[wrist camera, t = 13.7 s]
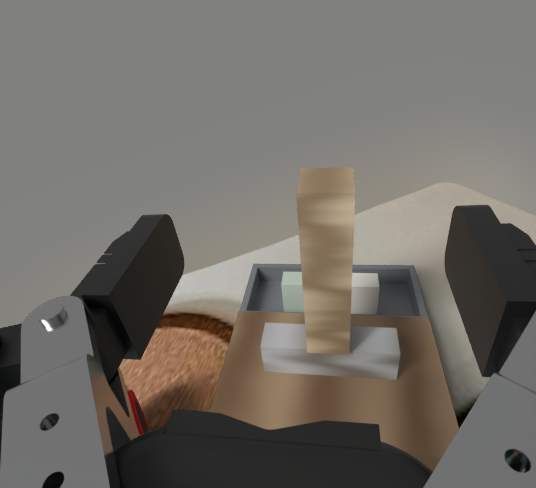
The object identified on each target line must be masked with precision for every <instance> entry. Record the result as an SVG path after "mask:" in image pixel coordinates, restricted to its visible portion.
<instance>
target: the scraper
mask: <svg viewBox="0 0 536 488" xmlns="http://www.w3.org/2000/svg"><path fill="white" fill-rule="evenodd" d="M296 195H297V210H298V225H299V240H300V255H301V270H302V285H303V300H304V315H305V324H288V323H265V326H264V331H263V336H262V341H261V346H260V348H261V354H262V360H263V365H264V371H265V372H281V373H296V374H311V375H326V376H341V377H357V378H372V379H387V380H397V374H398V367H399V361H400V348H399V342H398V335H397V329H396V328H383V327H359V326H350V323H351V294H352V265H353V236H354V207H355V186H354V172H353V167H348V168H319V169H318V168H316V169H301V171H300V177H299V182H298V188H297V193H296Z"/></svg>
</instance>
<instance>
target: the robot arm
mask: <svg viewBox="0 0 536 488" xmlns="http://www.w3.org/2000/svg"><path fill="white" fill-rule="evenodd" d="M104 253H105V254H104V255H102V256H101V258H100V259H99V260H98V261H97V265H94V266H93V268H92V269H91V270H90V271H89V273H88V274H87V275H86V276H85V277H84V279H83V280H82V281H81V283H80V284H79V285H78V287H77V288H76V289H75V290H74V291H73V292H72V294H71V295H70V296H62V297H58V298H55V299H52V300H49V301H47V302H45V303H43V304H41V305H40V306H38V307H37V308H35V309H34V310H33V311H32V312H31V313H30V314H29V315H28V316H27V317H26V318H25V320H24V321H23V323H22V324H18V325H14V326H9V327H4V328H0V488H536V245H535V244H534V242H533V241H532V239H531V238H530V237H529V235H528V234H526V233H525V232H523V231H522V230H520V229H519V228H517V227H515V226H514V225H512V224H511V223H508V224H501V223H500V222H499V220H498V219H497V217H496V216H495V214H494V212H493V211H492V209H491V208H490V206H488V205H469V206H456V207H455V208H454V210H453V213H452V218H451V224H450V229H449V235H448V240H447V246H446V251H445V271H446V276H447V279H448V282H449V284H450V287H451V290H452V293H453V296H454V299H455V301H456V304H457V307H458V310H459V313H460V315H461V318H462V321H463V324H464V327H465V330H466V332H467V335H468V338H469V341H470V344H471V347H472V349H473V352H474V355H475V358H476V361H477V363H478V366H479V369H480V372H481V375H482V377H491V378H490V379H489V381H488V383H487V384H486V386H485V388H484V389H483V391H482V392H481V394H480V396H479V397H478V399H477V401H476V402H475V404H474V406H473V407H472V409H471V410H470V412H469V414H468V415H467V417H466V419H465V420H464V422H463V424H462V425H461V427H460V429H459V430H458V432H457V433H456V435H455V437H454V438H453V440H452V442H451V443H450V445H449V447H448V448H447V450H446V451H445V453H444V455H443V456H442V458H441V460H440V461H439V463H438V465H437V466H436V468H435V469H434V471H432V470H431V469H430V468H429V467H427V466H426V465H425V464H423V463H422V462H421V461H420V460H418V459H417V458H415V457H413V456H412V455H410V454H408V453H407V452H405V451H403V450H401V449H399V448H397V447H395V446H393V445H390V444H387V443H384V442H382V441H381V439H380V429H379V424H369V423H355V422H341V421H327V420H323V421H318V422H312V423H307V424H301V425H296V426H290V427H285V428H279V429H273V430H268V429H263V428H261V427H258V426H255V425H252V424H249V423H247V422H244V421H241V420H238V419H235V418H233V417H230V416H227V415H224V414H221V413H214V412H200V411H186V410H173V411H172V414H171V416H170V419H169V422H168V425H167V426H164V427H161V428H157V429H154V430H151V431H149V432H146V433H144V434H142V435H140V434H139V431H138V429H137V426H136V422H135V419H134V415H133V411H132V408H131V404H130V400H129V397H128V393H127V389H126V386H125V382H124V378H123V375H122V372H121V370H120V368H119V366H120V364H121V362H122V360H123V359H138V360H140V359H141V357H142V355H143V353H144V351H145V349H146V347H147V345H148V343H149V341H150V339H151V337H152V335H153V333H154V331H155V329H156V327H157V325H158V323H159V321H160V319H161V317H162V315H163V313H164V311H165V309H166V307H167V305H168V303H169V301H170V299H171V297H172V295H173V293H174V291H175V289H176V287H177V285H178V283H179V280H180V278H181V276H182V274H183V270H184V257H183V253H182V249H181V246H180V243H179V240H178V237H177V234H176V230H175V227H174V224H173V221H172V219H171V217H170V216H169V215H167V214H163V215H162V214H161V215H143V216H141V217H140V219H139V220H138V221H137V222H136V224H135V225H134V226H133V228H132V229H131V230H130V231H128V232H126V233H125V234H123V235H122V236H120V237H119V238H118V239H116V240H115V241H113V243H112V244H111V245H110V246H109V248H108V249H107V250H106V251H105V252H104Z"/></svg>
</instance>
